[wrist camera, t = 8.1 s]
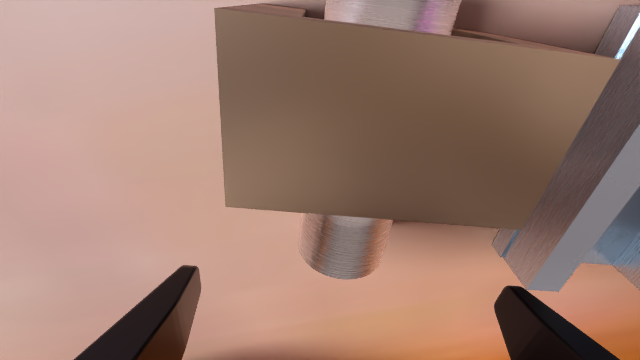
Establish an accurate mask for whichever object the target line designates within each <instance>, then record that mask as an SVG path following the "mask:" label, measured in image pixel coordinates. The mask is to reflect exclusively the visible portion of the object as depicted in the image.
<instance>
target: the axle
mask: <svg viewBox="0 0 640 360" xmlns="http://www.w3.org/2000/svg"><path fill="white" fill-rule="evenodd" d="M460 3H461V0H326V5H325V14H324V19H325V20H333V21H341V22H349V23H357V24H364V25H372V26H380V27H388V28H396V29H404V30H412V31H420V32H428V33H436V34H443V35H451V32H452V29H453V26H454V23H455V20H456V16H457V13H458V10H459V7H460ZM392 222H393V220H387V219H375V218H362V217H349V216H336V215H324V214H311V213H302V216H301V225H300V233H299V242H298V245H299V251H300V253H301V256H302V257H303V259H304V260H305V261H306V263H307V264H309V265H310V266H311V267H312V268H313V269H315V270H316V271H318V272H320V273H322V274H324V275H327V276H330V277H333V278H338V279H357V278H361V277H364V276H366V275H368V274H370V273H372V272H373V271H374V270H375V269H376V268H377V267H378V265H379V263H380V261H381V258H382V255H383V251H384V248H385V245H386V242H387V238H388V235H389V232H390V229H391V226H392Z"/></svg>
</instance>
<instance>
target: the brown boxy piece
mask: <svg viewBox="0 0 640 360" xmlns="http://www.w3.org/2000/svg"><path fill="white" fill-rule="evenodd" d="M214 11H215V28H216V46H217V63H218V81H219V99H220V116H221V134H222V152H223V169H224V187H225V205H226V207H234V208H247V209H260V210H273V211H285V212H298V213H311V214H324V215H336V216H349V217H362V218H375V219H387V220H400V221H413V222H426V223H439V224H451V225H464V226H477V227H490V228H502V229H515V230H522V228H523V226H524V224H525V223H526V221H527V219H528V218H529V216H530V214H531V212H532V211H533V209H534V207H535V206H536V204H537V202H538V200H539V199H540V197H541V195H542V194H543V192H544V190H545V188H546V187H547V185H548V183H549V182H550V180H551V178H552V176H553V175H554V173H555V171H556V170H557V168H558V166H559V164H560V163H561V161H562V159H563V158H564V156H565V154H566V152H567V151H568V149H569V147H570V146H571V144H572V142H573V140H574V139H575V137H576V135H577V134H578V132H579V130H580V129H581V127H582V125H583V123H584V122H585V120H586V118H587V117H588V115H589V113H590V111H591V110H592V108H593V106H594V105H595V103H596V101H597V99H598V98H599V96H600V94H601V93H602V91H603V89H604V87H605V86H606V84H607V82H608V81H609V79H610V77H611V75H612V74H613V72H614V70H615V69H616V67H617V65H618V63H619V62H620V60H621V59H616V58H611V57H606V56H601V55H596V54H591V53H586V52H581V51H576V50H571V49H566V48H561V47H556V46H551V45H546V44H541V43H536V42H531V41H526V40H521V39H516V38H511V37H506V36H501V35H495V34H490V33H485V32H477V31H470V30H462V29H454V28H453V29H452V32H451V35H443V34H436V33H428V32H420V31H412V30H404V29H396V28H388V27H380V26H372V25H364V24H357V23H349V22H341V21H333V20H325V19H317V18H309V17H306V9H298V8H291V7H283V6H275V5H267V4H251V5H241V6H232V7H222V8H214Z"/></svg>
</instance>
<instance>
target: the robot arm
mask: <svg viewBox="0 0 640 360" xmlns="http://www.w3.org/2000/svg"><path fill="white" fill-rule="evenodd" d="M200 292H201V282H200V274H199V268H198V267H197V266H189V265H183V266H181V267H180V268H179V269H177V270H176V271H175V272H174V273H173V274H172V275H171V276H169V277H168V278H167V279H166V280H165V281H164V282H163V283H161V284H160V285H159V286H158V287H157V288H156V289H154V290H153V291H152V292H151V293H150V294H149V295H148V296H146V297H145V298H144V299H143V300H142V301H141V302H139V303H138V304H137V305H136V306H135V307H134V308H133V309H131V310H130V311H129V312H128V313H127V314H126V315H125V316H123V317H122V318H121V319H120V320H119V321H118V322H116V323H115V324H114V325H113V326H112V327H111V328H110V329H108V330H107V331H106V332H105V333H104V334H103V335H101V336H100V337H99V338H98V339H97V340H96V341H95V342H93V343H92V344H91V345H90V346H89V347H88V348H87V349H85V350H84V351H83V352H82V353H81V354H80V355H78V356H77V357H76V358H75V359H74V360H182V357H183V354H184V351H185V348H186V345H187V341H188V338H189V334H190V330H191V327H192V323H193V319H194V315H195V312H196V308H197V304H198V300H199V297H200ZM494 310H495V313H496V316H497V320H498V323H499V326H500V329H501V332H502V335H503V338H504V341H505V344H506V347H507V350H508V353H509V356H510V358H511V360H620V359H618V358H617V357H616V356H614V355H613V354H612V353H610V352H609V351H608V350H606V349H605V348H604V347H602V346H601V345H599V344H598V343H597V342H595V341H594V340H593V339H591V338H590V337H589V336H587V335H586V334H585V333H583V332H582V331H581V330H579V329H578V328H577V327H575V326H574V325H572V324H571V323H570V322H568V321H567V320H566V319H564V318H563V317H562V316H560V315H559V314H558V313H556V312H555V311H554V310H552V309H551V308H550V307H548V306H547V305H545V304H544V303H543V302H541V301H540V300H539V299H537V298H536V297H535V296H533V295H532V294H531V293H529V292H528V291H527V290H525V289H524V288H522V287H519V286H506V287H504V289H503V290H502V292H501V294H500V295H499V297H498V298H497V300H496V302H495V304H494Z"/></svg>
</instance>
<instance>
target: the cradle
mask: <svg viewBox="0 0 640 360" xmlns="http://www.w3.org/2000/svg"><path fill="white" fill-rule="evenodd" d="M594 54H596V55H601V56H606V57H611V58H616V59H621V60H620V62H619V63H618V65H617V67H616V69H615V70H614V72H613V74H612V75H611V77H610V79H609V81H608V82H607V84H606V86H605V87H604V89H603V91H602V93H601V94H600V96H599V98H598V99H597V101H596V103H595V105H594V106H593V108H592V110H591V111H590V113H589V115H588V117H587V118H586V120H585V122H584V123H583V125H582V127H581V129H580V130H579V132H578V134H577V135H576V137H575V139H574V140H573V142H572V144H571V146H570V147H569V149H568V151H567V152H566V154H565V156H564V158H563V159H562V161H561V163H560V164H559V166H558V168H557V170H556V171H555V173H554V175H553V176H552V178H551V180H550V182H549V183H548V185H547V187H546V188H545V190H544V192H543V194H542V195H541V197H540V199H539V200H538V202H537V204H536V206H535V207H534V209H533V211H532V212H531V214H530V216H529V218H528V219H527V221H526V223H525V224H524V226H523V228H522V230H515V229H502V228H500V230H499V232H498V234H497V236H496V238H495V240H494V241H493V243H492V246H493V247H494V249H495V250H496V251H497V253H498V254H499V256H500V257H503V258H504V260H505V261H506V262H507V264H508V265H509V267H510V268H511V269H512V271H513V272H514V273H515V275H516V276H517V278H518V279H519V280H520V282H521V283H522V284H523V286H524V287H525V288H526V290H540V291H556V292H559V291H560V289H561V288H562V287H563V285H564V284H565V283H566V281H567V280H568V279H569V278H570V276H571V275H572V274H573V272H574V271H575V270H576V268H577V267H578V266H579V265H580V263H592V264H606V265H612V266H613V267H615V268H616V269H617V270H618V271H619V272H620V273H621V274H622V275H624V276H625V277H626V278H627V279H628V280H629V281H630V282H631V283H632V284H634V285H635V286H636V287H637V288H638V289H639V290H640V6H622V5H620V7H619V8H618V10H617V12H616V14H615V16H614V18H613V20H612V21H611V23H610V25H609V27H608V29H607V31H606V33H605V35H604V36H603V38H602V40H601V42H600V44H599V46H598V48H597V49H596V51H595V53H594Z"/></svg>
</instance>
